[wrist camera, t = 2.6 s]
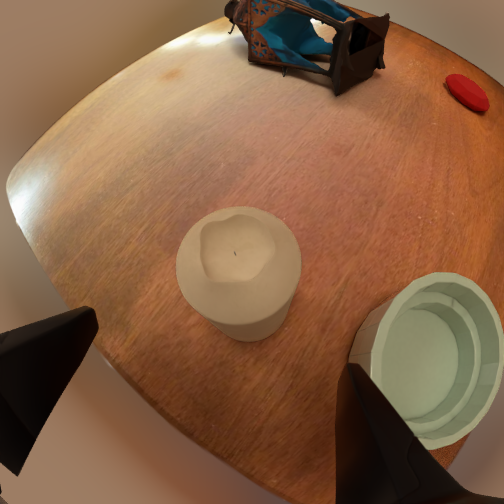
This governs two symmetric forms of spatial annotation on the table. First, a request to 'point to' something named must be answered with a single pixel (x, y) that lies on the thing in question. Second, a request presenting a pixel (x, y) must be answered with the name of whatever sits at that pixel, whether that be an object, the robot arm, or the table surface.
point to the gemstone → (467, 92)
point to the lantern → (311, 37)
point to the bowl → (434, 355)
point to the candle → (240, 271)
